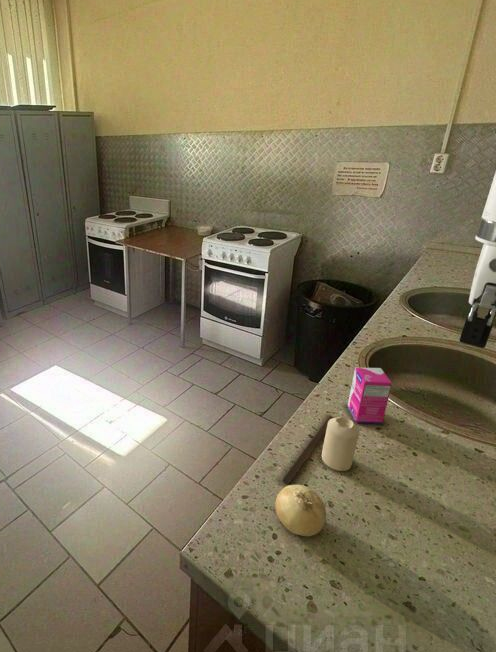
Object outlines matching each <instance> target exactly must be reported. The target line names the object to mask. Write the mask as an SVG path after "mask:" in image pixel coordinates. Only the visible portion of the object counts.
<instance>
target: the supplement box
mask: <svg viewBox="0 0 496 652" xmlns="http://www.w3.org/2000/svg"><path fill="white" fill-rule="evenodd" d="M392 386H393V383H392V381H391V379H389V377H388V376H387V374H386V373H385V372H384V370H383V369H382V368H381V367H357V366H356V367H354V373H353V376H352V382H351V387H350V391H349V395H348V396H349V397H348V402H347V408H348V410H349V411H350V413H351V415H352V417H353V419H354V421H355V424H356V423H357V424H369V425H370V424H371V425H383V422H384V418H385V413H386V410H387V407H388V401H389V397H390V393H391V389H392Z"/></svg>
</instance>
